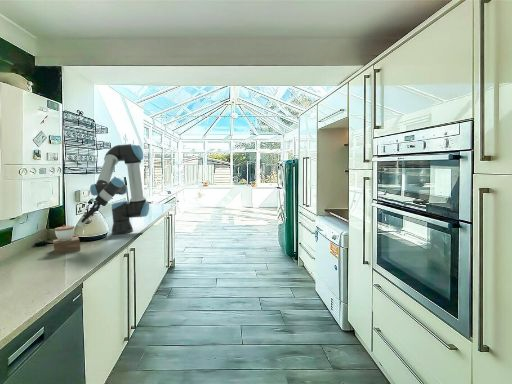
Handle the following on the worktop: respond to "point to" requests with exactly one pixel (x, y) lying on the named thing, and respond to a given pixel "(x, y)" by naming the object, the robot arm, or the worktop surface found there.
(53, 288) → the worktop surface
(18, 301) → the worktop surface
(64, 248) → the walnut block
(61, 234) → the lidded jar
